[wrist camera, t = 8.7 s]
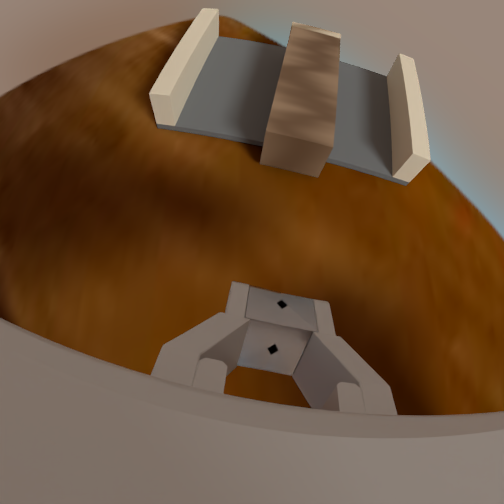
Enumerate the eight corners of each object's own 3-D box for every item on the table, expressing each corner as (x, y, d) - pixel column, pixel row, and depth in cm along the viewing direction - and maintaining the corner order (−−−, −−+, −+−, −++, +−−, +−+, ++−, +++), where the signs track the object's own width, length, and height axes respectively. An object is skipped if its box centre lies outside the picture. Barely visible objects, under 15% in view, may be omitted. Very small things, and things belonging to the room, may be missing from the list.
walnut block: (265, 130, 20) (292, 21, 24) (258, 164, 23) (286, 53, 28) (334, 147, 20) (341, 34, 24) (318, 178, 23) (330, 64, 28)
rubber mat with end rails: (157, 127, 24) (149, 93, 20) (203, 39, 28) (202, 7, 24) (405, 185, 25) (430, 160, 21) (398, 85, 29) (413, 58, 25)
